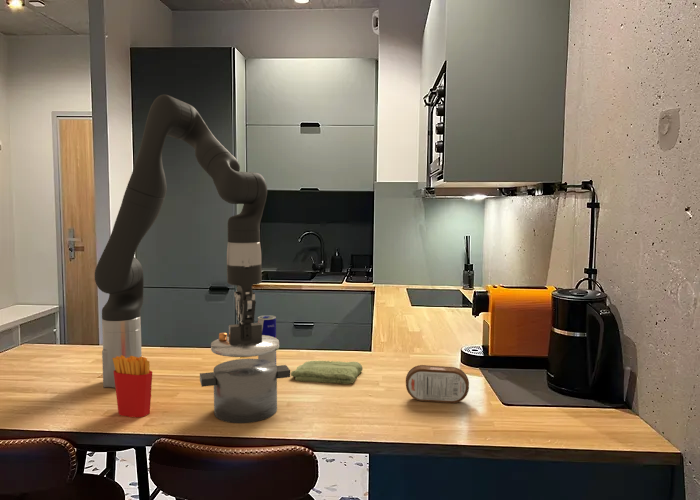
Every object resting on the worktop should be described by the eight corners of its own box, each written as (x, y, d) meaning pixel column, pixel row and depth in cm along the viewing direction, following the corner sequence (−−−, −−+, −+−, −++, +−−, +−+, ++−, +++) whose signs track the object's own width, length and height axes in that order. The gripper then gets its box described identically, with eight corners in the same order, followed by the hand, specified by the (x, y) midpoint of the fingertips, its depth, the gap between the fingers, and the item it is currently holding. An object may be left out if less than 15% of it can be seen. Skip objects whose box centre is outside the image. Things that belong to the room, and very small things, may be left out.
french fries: (156, 411, 121) (155, 355, 120) (144, 419, 117) (142, 360, 116) (122, 407, 124) (120, 351, 123) (109, 414, 120) (107, 356, 119)
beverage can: (272, 371, 151) (272, 318, 150) (255, 370, 152) (255, 317, 151) (278, 365, 156) (278, 314, 155) (262, 364, 157) (261, 314, 156)
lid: (215, 359, 112) (214, 335, 111) (207, 342, 126) (207, 320, 125) (286, 353, 117) (285, 329, 116) (271, 337, 131) (271, 316, 130)
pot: (204, 428, 112) (203, 381, 111) (198, 405, 125) (197, 363, 125) (295, 416, 119) (295, 372, 118) (281, 395, 132) (281, 355, 131)
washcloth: (304, 367, 156) (303, 356, 156) (363, 372, 152) (363, 360, 152) (289, 382, 143) (288, 370, 143) (353, 387, 140) (353, 375, 139)
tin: (468, 400, 129) (469, 366, 129) (469, 405, 126) (470, 370, 126) (405, 397, 132) (406, 363, 131) (404, 401, 129) (405, 367, 128)
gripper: (223, 260, 125) (224, 333, 126) (231, 266, 112) (232, 348, 113) (255, 258, 127) (256, 330, 129) (267, 265, 114) (268, 345, 116)
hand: (245, 338), depth 121 cm, fingers closed on lid, 2 cm apart
